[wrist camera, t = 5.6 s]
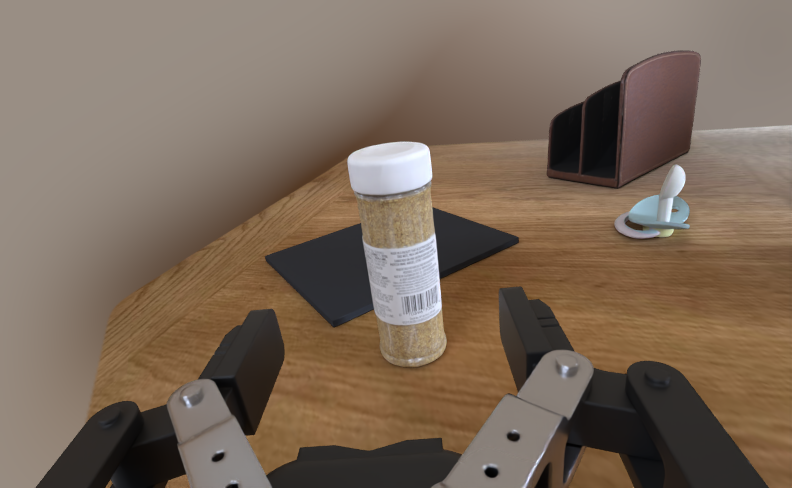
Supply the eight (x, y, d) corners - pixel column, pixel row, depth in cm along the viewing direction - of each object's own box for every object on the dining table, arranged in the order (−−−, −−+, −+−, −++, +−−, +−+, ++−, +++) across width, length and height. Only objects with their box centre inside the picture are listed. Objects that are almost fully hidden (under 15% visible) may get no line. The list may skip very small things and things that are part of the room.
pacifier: (609, 243, 40) (688, 249, 36) (612, 176, 37) (697, 177, 34) (618, 214, 45) (687, 217, 42) (622, 155, 43) (695, 153, 40)
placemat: (419, 207, 54) (419, 202, 54) (518, 242, 42) (518, 237, 41) (266, 261, 45) (264, 256, 45) (333, 327, 32) (332, 321, 32)
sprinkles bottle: (437, 322, 31) (419, 135, 26) (455, 363, 27) (438, 150, 22) (375, 335, 31) (343, 147, 25) (384, 377, 27) (348, 164, 21)
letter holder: (690, 152, 62) (707, 43, 56) (618, 190, 51) (630, 61, 45) (620, 145, 69) (629, 49, 63) (545, 177, 59) (547, 66, 53)
